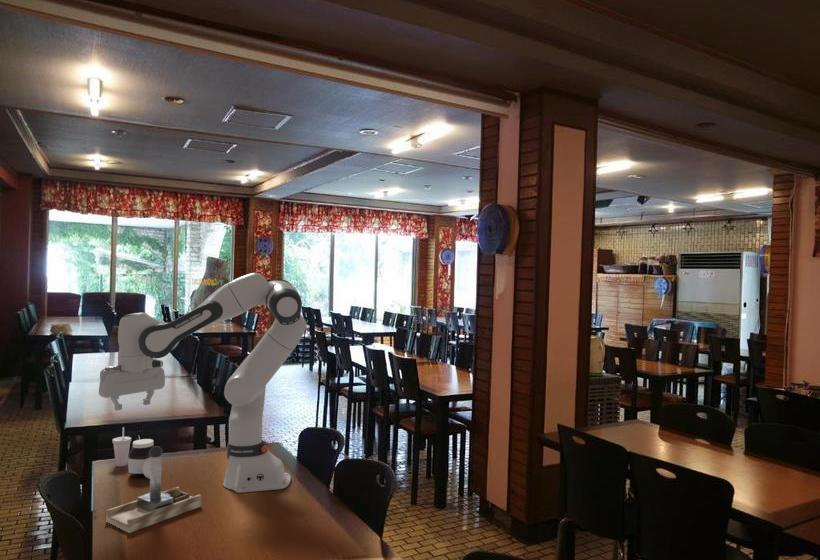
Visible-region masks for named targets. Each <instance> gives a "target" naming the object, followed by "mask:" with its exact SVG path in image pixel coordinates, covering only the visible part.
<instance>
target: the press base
mask: <svg viewBox="0 0 820 560" xmlns="http://www.w3.org/2000/svg"><path fill="white" fill-rule="evenodd" d="M174 488H178V489H179V490H180V492H181V495H180V497H177V498H175V499H174V501H173V504H170V505H167V506H165V507H162V508H159V509H156V510H153V511H150V512H149V511H147V510H145V509H142V508H140V507H138V506H137V499H136V500H133V501H129V502H127V503H123V504H120V505H117V506H115V507H111V508H109V509H106V510H105V516H106V517H105V523H107V522H108V523H107V524H109V523H110V524H109V525H111V524H112V525H111V526H113V525H114V527H115V526H116V528H117V529H119V528H120V530H122V531H124V532H125V533H129V534H131V533H133V532H136V531H139V530H141V529H144V528H146V527H150V526H152V525H155V524H158V523H160V522H163V521H165V520H168V519H171V518H174V517H176V516H180V515H182V514H184V513H187V512H189V511H194V510H195V509H198V508H201V507H202V495H201V494H200V493H199V494H197V495H193V496H192V495H190V493H188V492H185V491H182V490H181V489H180V486H175V487H174ZM168 490H169V489H166V490H164V491H162V492H164V493H167V492H168Z"/></svg>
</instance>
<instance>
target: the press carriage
mask: <svg viewBox="0 0 820 560" xmlns="http://www.w3.org/2000/svg"><path fill="white" fill-rule="evenodd" d="M153 446H154V445H153ZM149 455H150V479H149V492H148V493H145V494H142V495H139V496H137V497H136V500H137V506H138V507H140V508H142V509H145V510H147V511H149V512H150V511H153V510H156V509H159V508H162V507H165V506H167V505H170V504H173V497H171V495H170V494H167V493H164V492H163V491H162V471H161V465H162V455H163V448H162V447H161V446H159V445H155V446H154V447H152V448H151V449H150V452H149Z"/></svg>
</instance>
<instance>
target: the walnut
mask: <svg viewBox="0 0 820 560" xmlns="http://www.w3.org/2000/svg"><path fill="white" fill-rule="evenodd" d="M167 490H168V492H167V494H170V495H171V497H173V501H174V499H175V498H177V497H180V495H181V492H180V491H181V489H180V490H179V489H178V488H175V487H171V488H169V489H167Z"/></svg>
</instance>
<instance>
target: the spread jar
mask: <svg viewBox="0 0 820 560" xmlns="http://www.w3.org/2000/svg"><path fill="white" fill-rule="evenodd" d="M152 447H154V439H151V438H143V439H141V438H140V439H136V440H134V441H133V442H132V448H131V450H129V455H128V462H127V465H128V467H127V468H128V474H129V475H130V476H132V477H133V478H147V479H149V480H150V455H149V452H150V449H151V448H152ZM162 466H163V465H162V464H161V472H162V471H163V470H162V469H163V467H162Z"/></svg>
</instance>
